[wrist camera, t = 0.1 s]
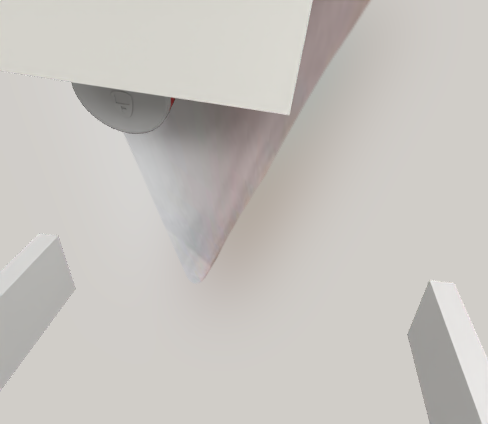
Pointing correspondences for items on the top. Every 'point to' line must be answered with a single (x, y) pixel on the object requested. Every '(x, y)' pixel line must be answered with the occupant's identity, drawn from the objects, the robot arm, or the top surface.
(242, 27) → the shelf
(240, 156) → the top surface
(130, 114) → the canned food
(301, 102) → the top surface
